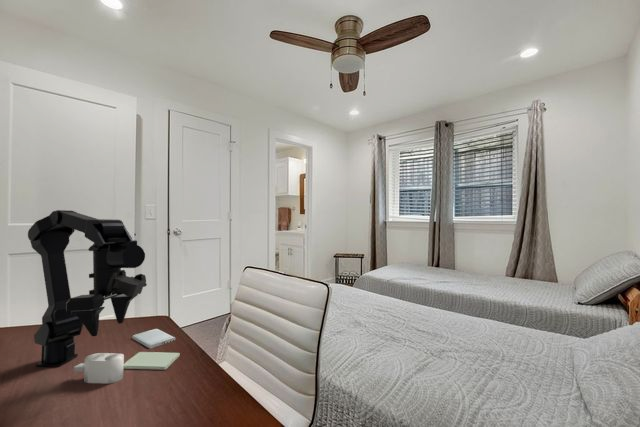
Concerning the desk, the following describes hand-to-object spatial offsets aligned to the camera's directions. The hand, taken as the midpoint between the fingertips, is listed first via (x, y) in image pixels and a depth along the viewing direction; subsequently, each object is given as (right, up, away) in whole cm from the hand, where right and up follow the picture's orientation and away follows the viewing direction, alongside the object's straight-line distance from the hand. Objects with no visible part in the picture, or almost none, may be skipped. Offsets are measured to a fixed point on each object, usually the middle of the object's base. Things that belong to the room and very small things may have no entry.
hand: (108, 329), depth 74 cm
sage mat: (+6, -13, +8) cm, 16 cm away
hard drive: (-2, -14, +23) cm, 27 cm away
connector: (-2, -12, -1) cm, 12 cm away
